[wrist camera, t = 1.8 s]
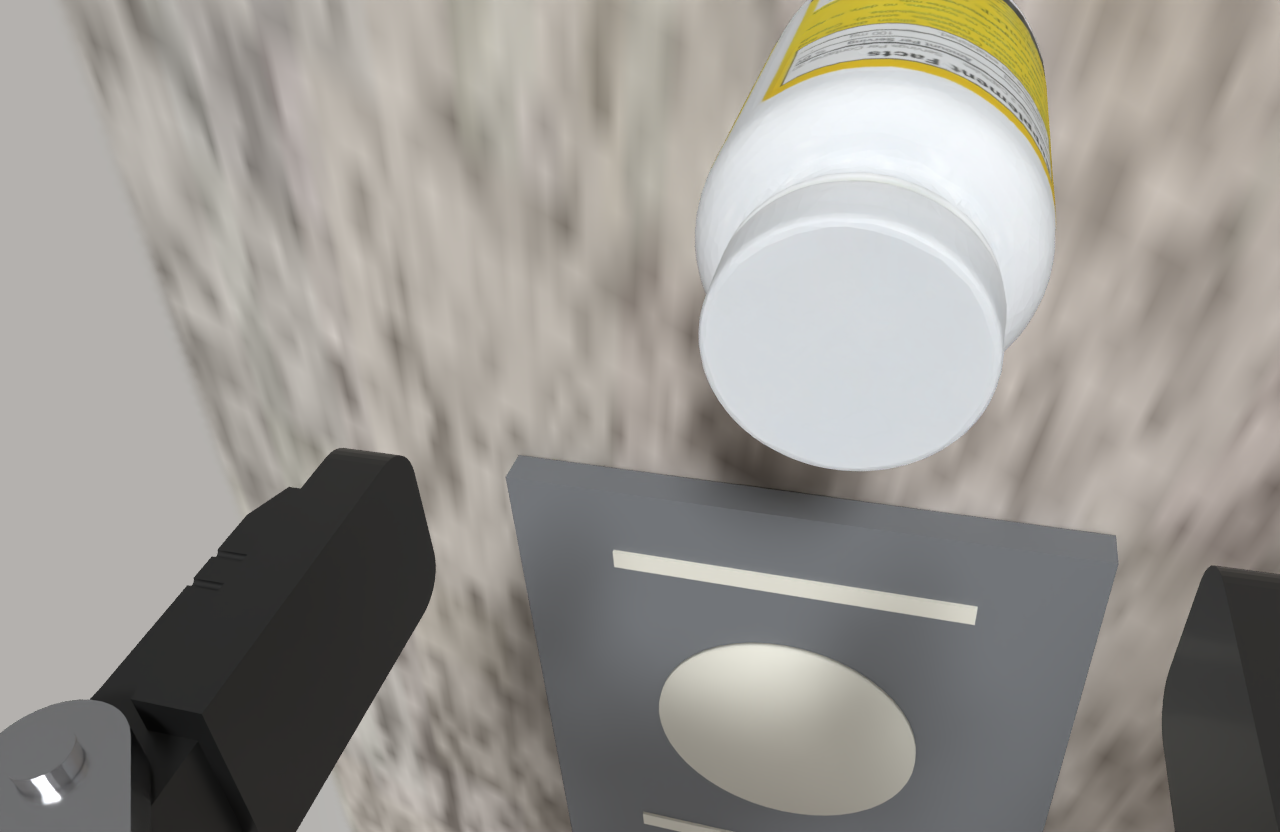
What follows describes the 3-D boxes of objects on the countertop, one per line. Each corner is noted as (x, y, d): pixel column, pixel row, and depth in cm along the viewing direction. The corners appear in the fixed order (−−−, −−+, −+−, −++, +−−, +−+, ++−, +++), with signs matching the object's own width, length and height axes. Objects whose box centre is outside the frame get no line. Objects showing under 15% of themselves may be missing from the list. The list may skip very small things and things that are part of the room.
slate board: (1115, 535, 26) (1118, 569, 25) (1012, 912, 37) (1012, 945, 36) (518, 455, 30) (503, 481, 29) (581, 814, 41) (571, 841, 40)
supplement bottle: (896, 260, 23) (835, 567, 16) (719, 91, 22) (564, 336, 15) (1110, 91, 20) (1157, 379, 13) (914, -118, 19) (840, 64, 12)
